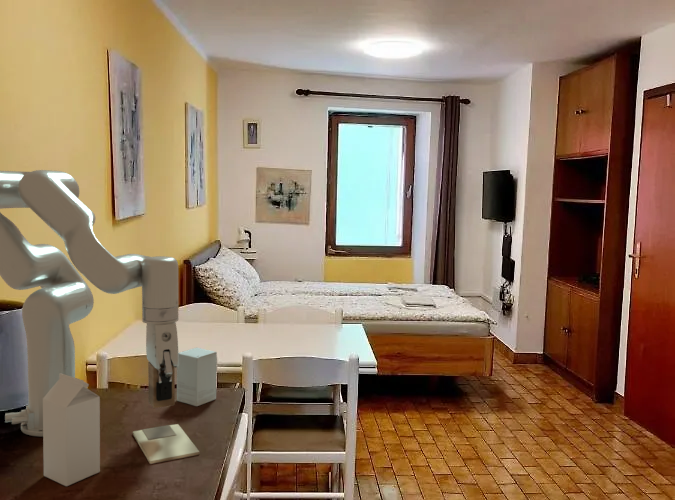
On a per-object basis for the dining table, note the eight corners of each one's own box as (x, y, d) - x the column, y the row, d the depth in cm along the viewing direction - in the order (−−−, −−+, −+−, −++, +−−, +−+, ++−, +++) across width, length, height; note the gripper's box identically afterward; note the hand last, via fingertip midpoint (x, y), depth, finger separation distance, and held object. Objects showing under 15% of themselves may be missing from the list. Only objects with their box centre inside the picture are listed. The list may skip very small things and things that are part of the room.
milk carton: (66, 487, 109) (65, 385, 107) (43, 476, 113) (42, 377, 111) (100, 472, 115) (100, 376, 113) (77, 462, 119) (76, 368, 117)
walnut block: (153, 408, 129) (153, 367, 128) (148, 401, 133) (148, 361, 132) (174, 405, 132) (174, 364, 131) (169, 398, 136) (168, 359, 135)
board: (150, 464, 120) (150, 460, 119) (132, 434, 133) (132, 431, 133) (199, 454, 125) (199, 451, 125) (177, 426, 138) (177, 423, 138)
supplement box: (217, 399, 157) (218, 351, 156) (196, 407, 151) (196, 357, 149) (196, 393, 161) (197, 346, 159) (175, 400, 155) (176, 352, 153)
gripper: (189, 320, 125) (189, 405, 127) (167, 305, 139) (168, 382, 141) (152, 323, 121) (153, 411, 123) (134, 308, 136) (135, 387, 138)
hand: (161, 395), depth 132 cm, fingers closed on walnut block, 4 cm apart
